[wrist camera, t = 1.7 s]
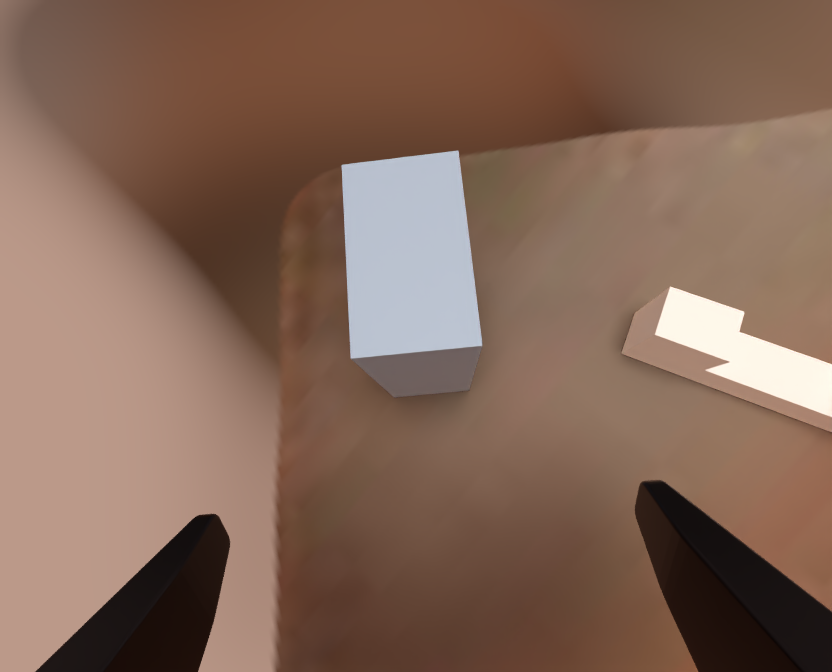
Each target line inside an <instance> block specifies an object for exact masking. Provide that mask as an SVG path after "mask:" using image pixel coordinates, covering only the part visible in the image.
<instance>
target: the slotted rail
mask: <svg viewBox="0 0 832 672" xmlns="http://www.w3.org/2000/svg"><path fill="white" fill-rule="evenodd" d="M743 315H744V312H743V311H740V310H737V309H734V308H731V307H728V306H725V305H723V304H720V303H717V302H714V301H711V300H708V299H705V298H702V297H699V296H696V295H693V294H690V293H688V292H685V291H682V290H679V289H676V288H673V287H669V288H668V289H666V290H665V291H664V292H662V293H661V294H660V295H658V296H657V297H656V298H654V299H653V300H652V301H650V302H649V303H648V304H646V305H645V306H643V307H642V308H641V309H639V310H638V311H637V312H635V314H634V317H633V320H632V323H631V326H630V329H629V332H628V335H627V338H626V341H625V344H624V347H623V350H622V353H621V354H623V355H626V356H629V357H631V358H634V359H637V360H639V361H642V362H645V363H647V364H650V365H653V366H655V367H658V368H661V369H663V370H666V371H669V372H671V373H674V374H677V375H679V376H682V377H685V378H687V379H690V380H693V381H695V382H698V383H701V384H703V385H706V386H709V387H712V388H714V389H717V390H720V391H722V392H725V393H728V394H730V395H733V396H736V397H738V398H741V399H744V400H746V401H749V402H752V403H754V404H757V405H760V406H762V407H765V408H768V409H770V410H773V411H776V412H778V413H781V414H784V415H786V416H789V417H792V418H794V419H797V420H800V421H802V422H805V423H808V424H810V425H813V426H816V427H818V428H821V429H824V430H826V431H829V432H832V364H829V363H827V362H824V361H821V360H818V359H815V358H812V357H809V356H807V355H804V354H801V353H798V352H795V351H792V350H789V349H787V348H784V347H781V346H778V345H775V344H772V343H769V342H767V341H764V340H761V339H758V338H755V337H752V336H749V335H747V334H744V333H741V332H739V330H740V326H741V323H742V319H743Z"/></svg>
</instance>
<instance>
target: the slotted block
mask: <svg viewBox="0 0 832 672" xmlns="http://www.w3.org/2000/svg"><path fill="white" fill-rule="evenodd" d="M342 180H343V202H344V223H345V245H346V266H347V288H348V309H349V331H350V352H351V359H352V360H353V361H354V362H355V363H356V364H357V365H358V366H360V367H361V368H362V369H363V370H364V371H365V372H366V373H367V374H368V375H370V376H371V377H372V378H373V379H374V380H375V381H376V382H377V383H378V384H380V385H381V386H382V387H383V388H384V389H385V390H386V391H387V392H388V393H390V394H391V395H392V396H393V397H405V396H416V395H427V394H437V393H448V392H459V391H469V389H470V386H471V383H472V379H473V376H474V373H475V369H476V366H477V362H478V359H479V356H480V352H481V349H482V338H481V330H480V322H479V314H478V306H477V298H476V290H475V282H474V273H473V265H472V257H471V249H470V241H469V233H468V225H467V217H466V209H465V201H464V193H463V185H462V177H461V169H460V161H459V153H458V151H452V152H444V153H436V154H427V155H419V156H411V157H403V158H394V159H386V160H378V161H370V162H362V163H354V164H345V165H342Z"/></svg>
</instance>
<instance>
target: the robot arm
mask: <svg viewBox="0 0 832 672" xmlns="http://www.w3.org/2000/svg"><path fill="white" fill-rule="evenodd" d="M635 515H636V519H637V522H638V525H639V528H640V530H641V533H642V536H643V539H644V542H645V545H646V548H647V551H648V554H649V556H650V559H651V562H652V565H653V568H654V571H655V574H656V577H657V580H658V582H659V585H660V588H661V590H662V593H663V596H664V598H665V600H666V602H667V605H668V607H669V609H670V611H671V613H672V616H673V618H674V620H675V622H676V624H677V626H678V629H679V631H680V633H681V635H682V637H683V639H684V641H685V644H686V646H687V648H688V650H689V652H690V654H691V656H692V659H693V661H694V663H695V665H696V667H697V669H698V672H832V611H831V610H829V609H828V608H827V607H825V606H824V605H823V604H822V603H820V602H819V601H818V600H816V599H815V598H814V597H813V596H811V595H810V594H809V593H807V592H806V591H805V590H804V589H802V588H801V587H800V586H798V585H797V584H796V583H795V582H793V581H792V580H791V579H789V578H788V577H787V576H786V575H784V574H783V573H782V572H780V571H779V570H778V569H777V568H775V567H774V566H773V565H771V564H770V563H769V562H767V561H766V560H765V559H764V558H762V557H761V556H760V555H758V554H757V553H756V552H755V551H753V550H752V549H751V548H749V547H748V546H747V545H746V544H744V543H743V542H742V541H740V540H739V539H738V538H737V537H735V536H734V535H733V534H731V533H730V532H729V531H728V530H726V529H725V528H724V527H722V526H721V525H720V524H719V523H717V522H716V521H715V520H713V519H712V518H711V517H710V516H708V515H707V514H706V513H704V512H703V511H702V510H701V509H699V508H698V507H697V506H695V505H694V504H693V503H692V502H690V501H689V500H688V499H686V498H685V497H684V496H683V495H681V494H680V493H679V492H677V491H676V490H675V489H674V488H672V487H671V486H670V485H668V484H667V483H666V482H664V481H662V480H650V481H642V482H641V483H640V485H639V490H638V495H637V499H636V504H635ZM229 548H230V539H229V536H228V534H227V532H226V530H225V528H224V526H223V524H222V522H221V520H220V518H219V516H217V515H216V514H205V515H198V516H196V517H195V518H194V519H192V520H191V521H190V522H189V523H188V524H187V525H186V526H185V527H184V528H183V529H182V530H181V531H180V532H179V533H178V534H177V535H176V536H175V537H174V538H173V539H172V540H171V541H170V542H169V543H168V544H167V545H166V546H164V547H163V548H162V549H161V550H160V551H159V552H158V553H157V554H156V555H155V556H154V557H153V558H152V559H151V560H150V561H149V562H148V563H147V564H146V565H145V566H144V567H143V568H142V569H141V570H140V571H139V572H138V573H137V574H136V575H135V576H134V577H133V578H132V579H130V580H129V581H128V582H127V583H126V585H124V586H123V587H122V588H121V589H120V590H119V591H118V592H117V593H116V594H115V595H114V596H113V597H112V598H111V599H110V600H109V601H108V602H107V603H106V604H105V605H104V606H103V607H102V608H101V609H100V610H98V611H97V612H96V613H95V614H94V615H93V616H92V617H91V618H90V619H89V620H88V621H87V622H86V623H85V624H84V625H83V626H82V627H81V628H80V629H79V630H78V631H77V632H76V633H75V634H74V635H73V636H72V637H71V638H70V639H69V640H68V641H67V642H65V644H63V645H62V646H61V647H60V648H59V649H58V650H57V651H56V652H55V653H54V654H53V655H52V656H51V657H50V658H49V659H48V660H47V661H46V662H45V663H44V664H43V665H42V666H41V667H40V668H39V669H38V670H37V671H36V672H198V670H199V667H200V664H201V661H202V657H203V654H204V651H205V648H206V645H207V642H208V638H209V635H210V632H211V628H212V625H213V622H214V617H215V613H216V609H217V605H218V600H219V595H220V591H221V586H222V581H223V577H224V572H225V567H226V562H227V558H228V553H229Z"/></svg>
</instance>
